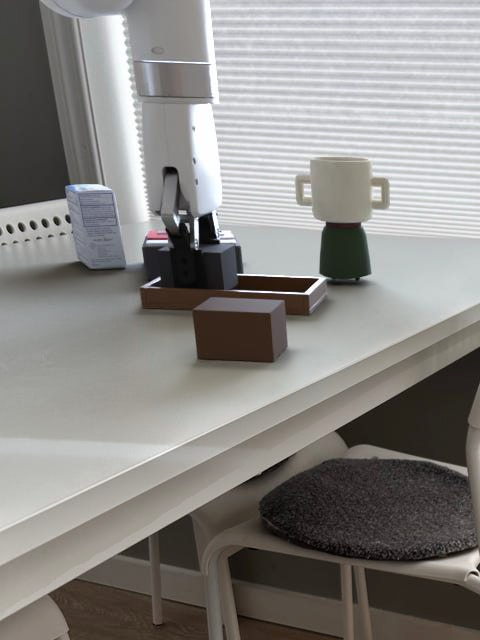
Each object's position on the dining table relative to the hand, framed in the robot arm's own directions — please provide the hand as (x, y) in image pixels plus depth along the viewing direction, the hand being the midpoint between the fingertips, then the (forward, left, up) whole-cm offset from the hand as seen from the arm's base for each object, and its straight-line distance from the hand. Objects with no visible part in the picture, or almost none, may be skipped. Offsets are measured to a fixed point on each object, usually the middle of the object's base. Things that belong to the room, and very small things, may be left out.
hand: (199, 282), depth 100 cm
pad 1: (0, 0, 0) cm, 0 cm away
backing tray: (+4, 0, -2) cm, 4 cm away
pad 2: (+10, -21, -2) cm, 23 cm away
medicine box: (-18, +19, -2) cm, 26 cm away
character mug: (+13, +15, -2) cm, 20 cm away
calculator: (-6, +18, -2) cm, 19 cm away
